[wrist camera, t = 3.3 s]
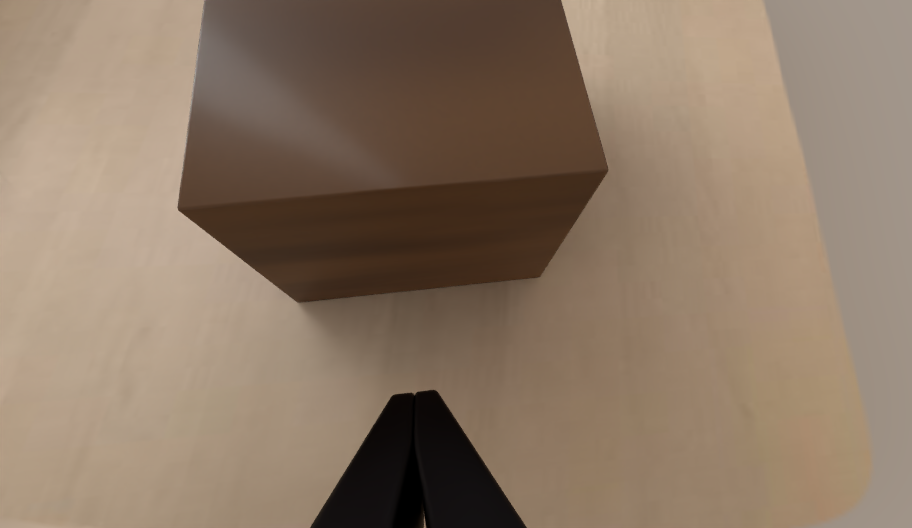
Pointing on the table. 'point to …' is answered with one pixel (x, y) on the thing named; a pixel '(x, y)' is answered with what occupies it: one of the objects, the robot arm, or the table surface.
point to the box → (388, 141)
